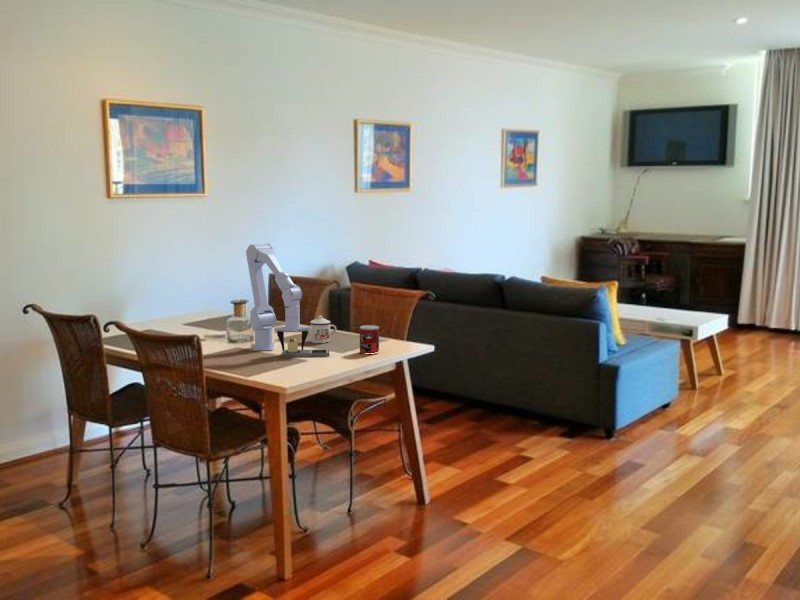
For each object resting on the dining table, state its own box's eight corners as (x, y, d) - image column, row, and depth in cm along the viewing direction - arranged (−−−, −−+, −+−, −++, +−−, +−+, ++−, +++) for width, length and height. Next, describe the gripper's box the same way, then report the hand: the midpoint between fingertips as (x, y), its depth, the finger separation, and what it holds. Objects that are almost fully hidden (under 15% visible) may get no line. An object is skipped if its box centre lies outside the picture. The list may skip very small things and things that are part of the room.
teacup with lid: (314, 344, 341) (314, 318, 339) (307, 340, 349) (306, 314, 347) (339, 342, 346) (339, 316, 345) (332, 338, 354) (332, 313, 353)
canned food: (356, 352, 325) (356, 326, 324) (371, 350, 330) (371, 324, 329) (367, 355, 319) (367, 329, 318) (382, 353, 324) (382, 327, 323)
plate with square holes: (282, 353, 322) (282, 349, 322) (329, 353, 324) (329, 349, 324) (281, 357, 315) (281, 353, 315) (329, 356, 317) (329, 352, 317)
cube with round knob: (288, 354, 321) (287, 338, 320) (298, 354, 321) (297, 337, 320) (287, 356, 317) (287, 339, 316) (297, 356, 317) (297, 339, 316)
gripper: (273, 318, 312) (274, 352, 314) (310, 318, 313) (310, 351, 315) (274, 315, 319) (275, 348, 321) (310, 315, 320) (311, 348, 322)
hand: (292, 349), depth 319 cm, fingers open, 7 cm apart
